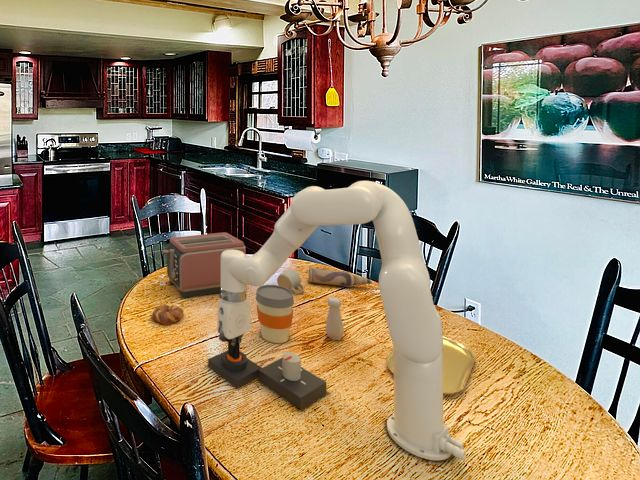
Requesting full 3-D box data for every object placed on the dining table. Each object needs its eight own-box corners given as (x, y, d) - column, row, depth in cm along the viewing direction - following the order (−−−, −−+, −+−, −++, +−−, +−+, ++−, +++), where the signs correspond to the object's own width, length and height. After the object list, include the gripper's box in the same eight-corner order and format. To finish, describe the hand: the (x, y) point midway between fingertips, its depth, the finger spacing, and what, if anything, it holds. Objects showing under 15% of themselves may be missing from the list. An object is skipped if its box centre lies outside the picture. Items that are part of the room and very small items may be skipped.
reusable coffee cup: (298, 333, 137) (298, 289, 137) (288, 350, 126) (287, 303, 127) (263, 323, 144) (263, 281, 144) (250, 338, 134) (250, 294, 134)
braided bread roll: (178, 309, 155) (178, 300, 155) (187, 323, 144) (187, 312, 144) (148, 313, 152) (148, 303, 152) (155, 327, 141) (155, 317, 141)
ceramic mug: (275, 288, 174) (275, 271, 174) (285, 283, 179) (285, 266, 179) (298, 297, 166) (298, 278, 166) (307, 291, 171) (307, 273, 171)
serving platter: (377, 375, 114) (377, 370, 114) (411, 330, 138) (411, 326, 138) (458, 409, 100) (457, 402, 100) (479, 352, 124) (479, 347, 124)
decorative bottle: (308, 285, 177) (308, 270, 177) (308, 279, 184) (308, 264, 185) (373, 292, 169) (373, 277, 169) (370, 286, 176) (370, 271, 176)
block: (261, 375, 114) (261, 361, 114) (236, 388, 108) (236, 373, 109) (232, 355, 124) (232, 342, 124) (208, 366, 118) (207, 352, 118)
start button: (245, 363, 116) (245, 357, 116) (234, 368, 113) (234, 362, 113) (234, 356, 119) (234, 350, 119) (223, 361, 117) (223, 355, 117)
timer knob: (289, 367, 112) (289, 349, 113) (304, 376, 109) (304, 357, 109) (278, 374, 110) (278, 354, 110) (293, 383, 106) (293, 363, 106)
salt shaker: (346, 342, 131) (345, 303, 131) (327, 340, 132) (327, 301, 132) (341, 333, 136) (341, 295, 137) (323, 331, 138) (323, 294, 138)
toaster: (157, 283, 181) (156, 238, 181) (228, 273, 191) (227, 231, 192) (170, 301, 162) (170, 251, 162) (248, 289, 173) (248, 242, 173)
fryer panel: (326, 393, 106) (326, 381, 106) (300, 409, 100) (300, 397, 100) (284, 366, 118) (283, 356, 118) (258, 380, 112) (258, 369, 112)
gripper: (223, 305, 109) (223, 371, 109) (260, 292, 118) (261, 354, 117) (205, 295, 116) (206, 358, 115) (242, 283, 124) (242, 342, 124)
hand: (233, 356), depth 116 cm, fingers closed
